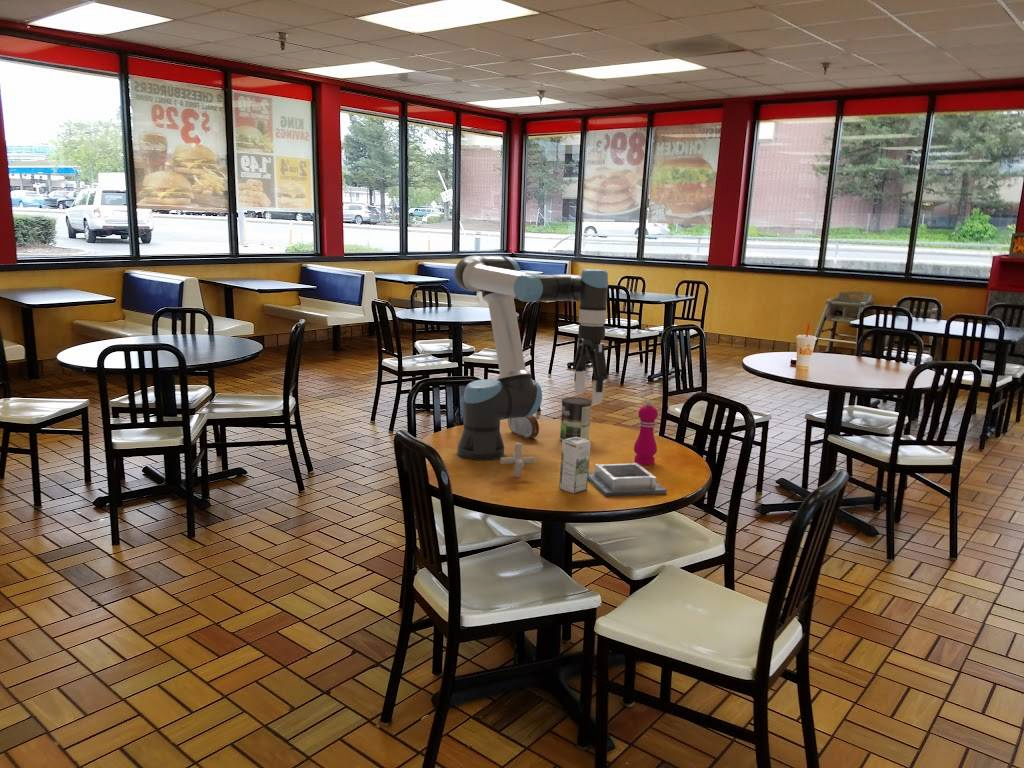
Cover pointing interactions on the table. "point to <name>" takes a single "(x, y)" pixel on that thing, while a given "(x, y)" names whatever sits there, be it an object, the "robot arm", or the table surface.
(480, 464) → the table surface
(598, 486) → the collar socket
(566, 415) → the coffee can
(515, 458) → the pipe connector
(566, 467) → the syrup box
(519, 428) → the tin
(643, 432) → the pepper mill
